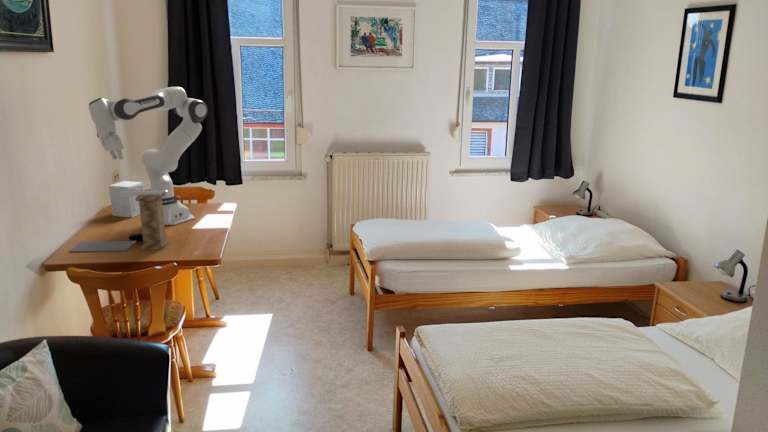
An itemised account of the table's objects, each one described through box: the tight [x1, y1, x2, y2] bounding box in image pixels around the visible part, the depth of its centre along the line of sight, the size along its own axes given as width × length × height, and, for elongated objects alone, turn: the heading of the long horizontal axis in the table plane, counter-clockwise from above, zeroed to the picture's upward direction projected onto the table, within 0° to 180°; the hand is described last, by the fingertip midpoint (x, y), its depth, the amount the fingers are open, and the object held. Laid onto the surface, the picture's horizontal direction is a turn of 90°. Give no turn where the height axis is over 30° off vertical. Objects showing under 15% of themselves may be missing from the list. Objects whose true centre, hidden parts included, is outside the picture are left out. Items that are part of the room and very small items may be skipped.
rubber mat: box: [68, 240, 138, 253], centre depth 290 cm, size 26×14×1 cm, turn 93°
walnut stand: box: [136, 196, 170, 251], centre depth 288 cm, size 10×10×25 cm
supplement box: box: [108, 180, 145, 218], centre depth 344 cm, size 13×13×18 cm
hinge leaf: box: [120, 189, 169, 196], centre depth 284 cm, size 21×4×2 cm, turn 94°
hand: (118, 159), depth 301 cm, fingers open, 8 cm apart
